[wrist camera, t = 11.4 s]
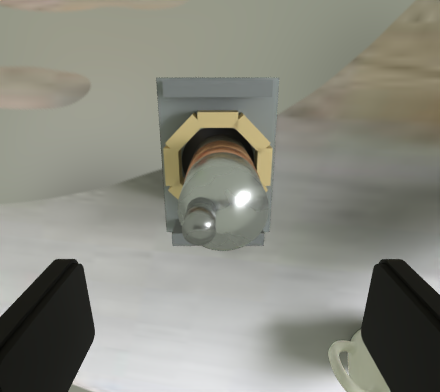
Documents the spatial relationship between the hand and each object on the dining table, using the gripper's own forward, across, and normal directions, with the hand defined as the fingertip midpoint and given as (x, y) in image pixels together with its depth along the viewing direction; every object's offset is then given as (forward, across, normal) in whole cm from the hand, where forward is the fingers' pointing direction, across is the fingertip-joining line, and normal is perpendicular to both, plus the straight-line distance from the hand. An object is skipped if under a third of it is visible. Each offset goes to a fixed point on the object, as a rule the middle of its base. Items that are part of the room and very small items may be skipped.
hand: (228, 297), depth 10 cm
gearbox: (+26, 0, 0) cm, 26 cm away
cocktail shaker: (+18, 0, 0) cm, 18 cm away
